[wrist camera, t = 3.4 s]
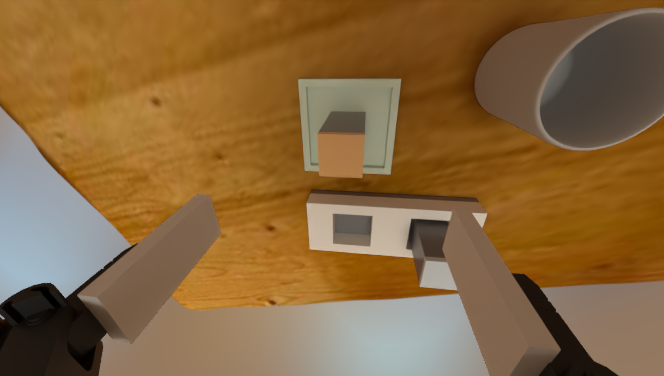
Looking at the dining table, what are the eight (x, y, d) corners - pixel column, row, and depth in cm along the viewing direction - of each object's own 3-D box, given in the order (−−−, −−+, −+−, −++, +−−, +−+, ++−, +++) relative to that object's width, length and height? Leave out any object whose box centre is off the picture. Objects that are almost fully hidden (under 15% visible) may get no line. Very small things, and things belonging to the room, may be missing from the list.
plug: (331, 111, 28) (317, 133, 21) (365, 111, 28) (364, 135, 20) (331, 144, 30) (319, 176, 23) (363, 145, 30) (362, 178, 22)
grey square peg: (412, 211, 33) (426, 260, 25) (443, 213, 33) (466, 264, 25) (408, 234, 35) (419, 286, 27) (437, 236, 35) (457, 290, 27)
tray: (300, 78, 28) (297, 79, 27) (400, 78, 26) (401, 79, 25) (306, 167, 33) (304, 170, 32) (389, 170, 32) (390, 174, 31)
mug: (467, 120, 28) (520, 156, 18) (479, 32, 24) (555, 19, 14) (591, 109, 25) (725, 143, 16) (627, 10, 21) (834, -23, 12)
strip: (311, 189, 35) (306, 203, 32) (476, 198, 32) (487, 213, 29) (314, 233, 39) (310, 249, 36) (461, 244, 36) (469, 262, 33)
